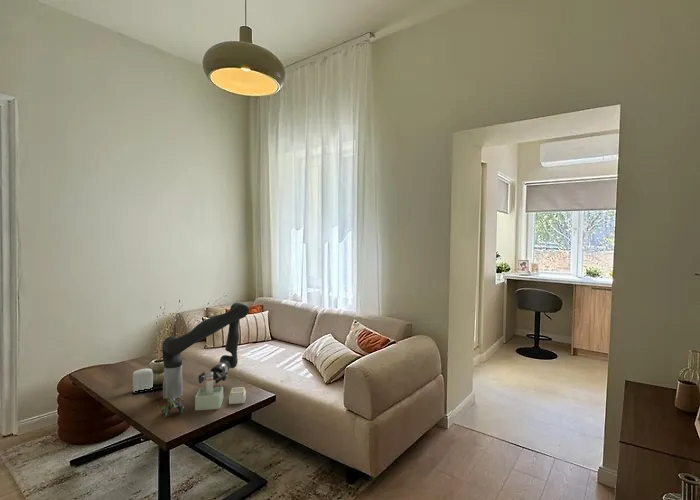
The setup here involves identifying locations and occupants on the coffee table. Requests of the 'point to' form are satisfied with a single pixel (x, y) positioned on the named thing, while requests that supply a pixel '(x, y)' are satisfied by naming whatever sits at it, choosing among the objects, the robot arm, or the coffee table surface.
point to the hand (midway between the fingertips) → (208, 381)
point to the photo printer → (142, 379)
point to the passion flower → (173, 403)
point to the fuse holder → (237, 395)
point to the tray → (209, 399)
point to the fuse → (209, 383)
